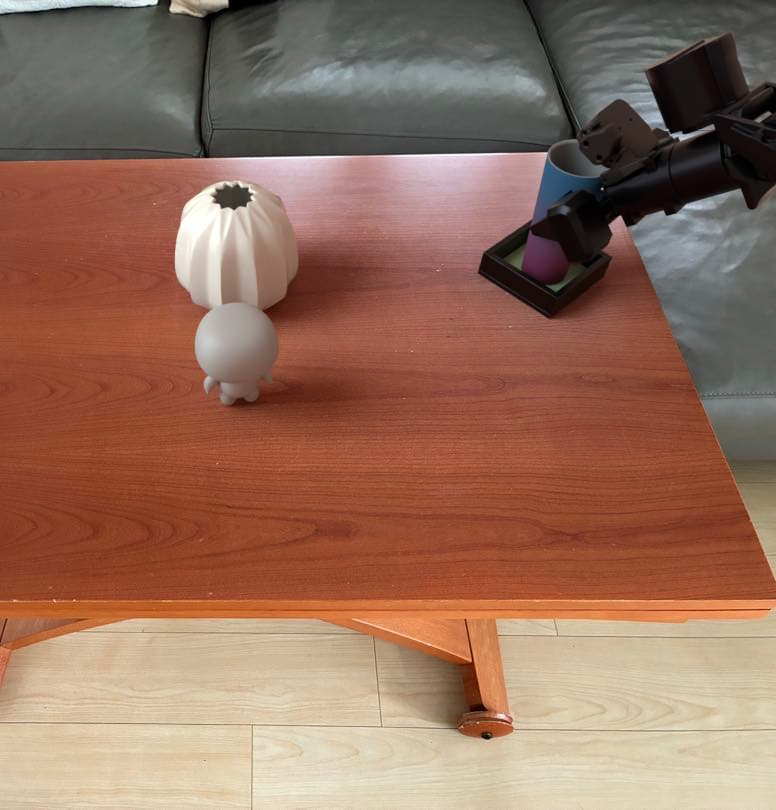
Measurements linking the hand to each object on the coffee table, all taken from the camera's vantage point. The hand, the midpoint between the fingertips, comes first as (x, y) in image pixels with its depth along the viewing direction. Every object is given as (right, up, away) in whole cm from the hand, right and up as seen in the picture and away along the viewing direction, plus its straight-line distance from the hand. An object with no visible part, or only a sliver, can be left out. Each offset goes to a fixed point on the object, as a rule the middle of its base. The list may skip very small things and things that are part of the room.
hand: (549, 216), depth 85 cm
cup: (+1, -5, +5) cm, 7 cm away
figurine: (-34, -21, -4) cm, 40 cm away
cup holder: (+1, -6, +6) cm, 8 cm away
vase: (-34, -7, +6) cm, 36 cm away
